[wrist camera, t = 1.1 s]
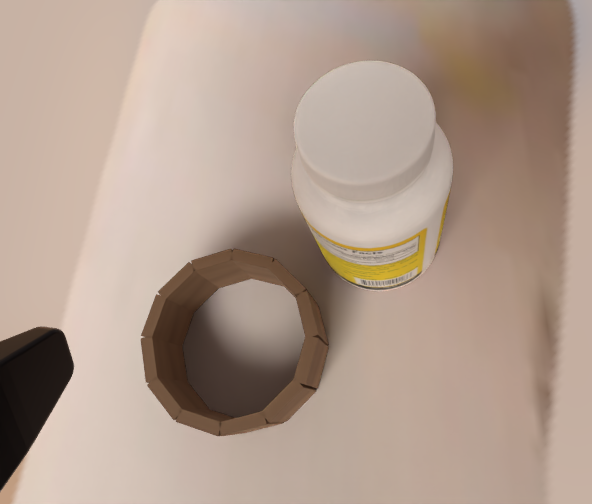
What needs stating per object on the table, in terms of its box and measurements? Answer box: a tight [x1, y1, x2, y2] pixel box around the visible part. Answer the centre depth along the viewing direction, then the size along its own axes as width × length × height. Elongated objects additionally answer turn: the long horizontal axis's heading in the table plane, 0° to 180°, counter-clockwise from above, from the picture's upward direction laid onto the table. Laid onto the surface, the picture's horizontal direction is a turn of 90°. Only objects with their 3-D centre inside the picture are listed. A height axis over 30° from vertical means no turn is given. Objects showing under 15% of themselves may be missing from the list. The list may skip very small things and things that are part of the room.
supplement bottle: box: [291, 60, 453, 291], centre depth 18 cm, size 5×5×10 cm
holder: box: [141, 249, 329, 436], centre depth 21 cm, size 7×7×3 cm
